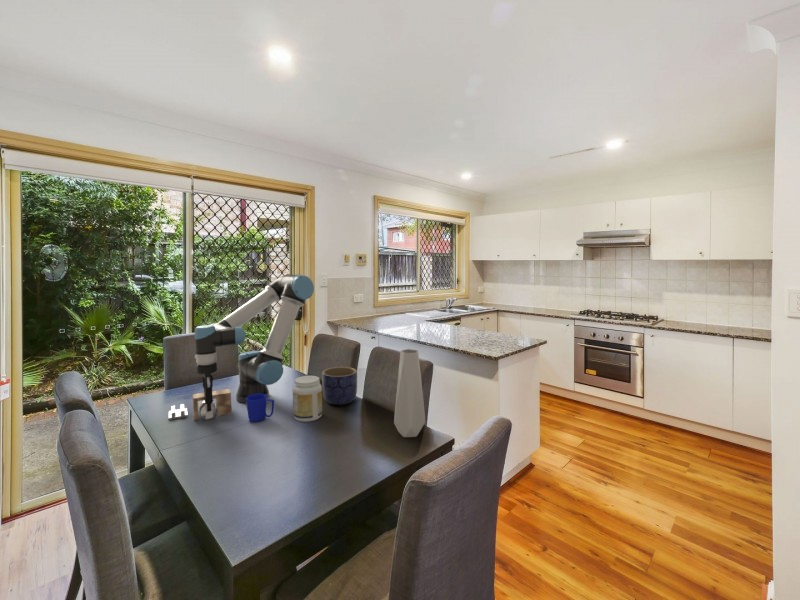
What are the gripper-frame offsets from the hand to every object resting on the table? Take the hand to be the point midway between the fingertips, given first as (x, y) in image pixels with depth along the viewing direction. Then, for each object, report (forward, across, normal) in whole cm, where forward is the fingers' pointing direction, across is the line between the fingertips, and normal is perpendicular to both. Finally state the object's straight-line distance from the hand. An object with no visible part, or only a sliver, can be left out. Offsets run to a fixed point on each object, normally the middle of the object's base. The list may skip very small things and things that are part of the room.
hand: (209, 417), depth 158 cm
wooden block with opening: (+1, -7, +2) cm, 7 cm away
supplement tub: (+2, +17, +37) cm, 41 cm away
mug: (+2, +10, +19) cm, 22 cm away
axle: (-1, -10, 0) cm, 10 cm away
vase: (+2, +53, +65) cm, 84 cm away
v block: (+1, -14, -11) cm, 18 cm away
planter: (+2, +7, +56) cm, 56 cm away
